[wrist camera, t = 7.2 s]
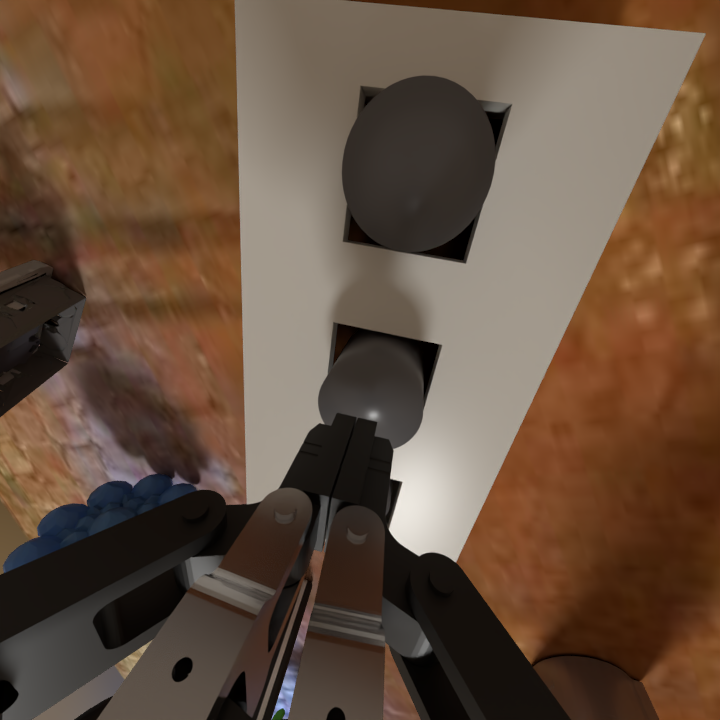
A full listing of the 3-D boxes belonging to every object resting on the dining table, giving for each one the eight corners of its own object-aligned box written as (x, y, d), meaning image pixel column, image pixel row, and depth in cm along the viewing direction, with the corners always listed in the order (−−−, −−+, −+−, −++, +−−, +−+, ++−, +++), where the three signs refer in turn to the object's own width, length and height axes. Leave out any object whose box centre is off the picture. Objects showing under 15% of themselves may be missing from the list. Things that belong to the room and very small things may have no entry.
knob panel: (598, 103, 14) (705, 33, 9) (444, 500, 25) (449, 576, 20) (300, 68, 15) (234, -10, 10) (282, 458, 27) (247, 518, 22)
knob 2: (432, 330, 16) (435, 375, 12) (414, 401, 18) (410, 462, 14) (350, 314, 17) (323, 350, 12) (341, 384, 18) (313, 437, 14)
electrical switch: (44, 255, 23) (-150, 290, 15) (111, 298, 24) (-36, 352, 16) (28, 342, 27) (-131, 407, 19) (86, 376, 28) (-41, 451, 20)
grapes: (124, 492, 34) (-15, 621, 23) (111, 445, 31) (-57, 567, 20) (223, 520, 32) (124, 670, 22) (219, 473, 29) (101, 621, 19)
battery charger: (281, 567, 34) (219, 717, 24) (314, 579, 34) (266, 736, 24) (274, 599, 37) (216, 745, 27) (304, 610, 37) (257, 762, 27)
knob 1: (486, 132, 12) (520, 85, 8) (455, 248, 14) (468, 263, 10) (377, 118, 13) (352, 66, 8) (362, 232, 15) (334, 239, 10)
